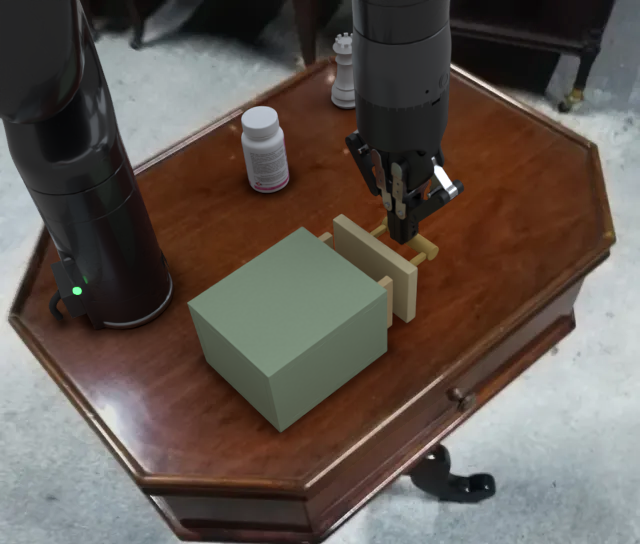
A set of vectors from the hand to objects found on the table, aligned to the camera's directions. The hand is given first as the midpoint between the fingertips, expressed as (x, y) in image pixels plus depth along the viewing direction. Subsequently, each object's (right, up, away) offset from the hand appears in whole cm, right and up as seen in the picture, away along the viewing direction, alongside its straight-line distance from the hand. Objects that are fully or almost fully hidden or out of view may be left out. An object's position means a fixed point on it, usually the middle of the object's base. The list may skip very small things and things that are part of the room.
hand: (403, 237), depth 73 cm
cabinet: (-11, -12, 0) cm, 16 cm away
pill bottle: (-14, +10, +15) cm, 23 cm away
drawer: (-5, -7, +2) cm, 9 cm away
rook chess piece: (-4, +23, +22) cm, 32 cm away
